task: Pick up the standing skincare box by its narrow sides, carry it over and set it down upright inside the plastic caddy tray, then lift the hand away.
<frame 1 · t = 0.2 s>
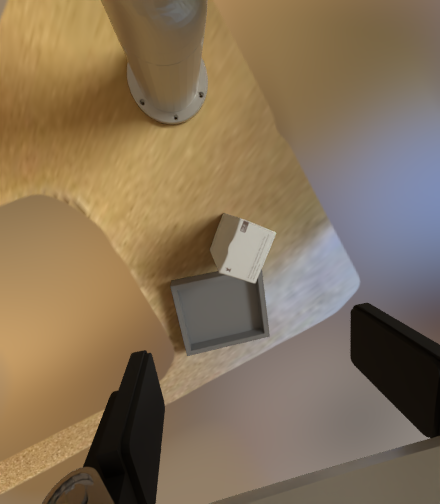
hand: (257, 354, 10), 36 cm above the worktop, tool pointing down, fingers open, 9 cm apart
skincare box: (228, 234, 46), on the worktop
caddy tray: (221, 306, 49), on the worktop
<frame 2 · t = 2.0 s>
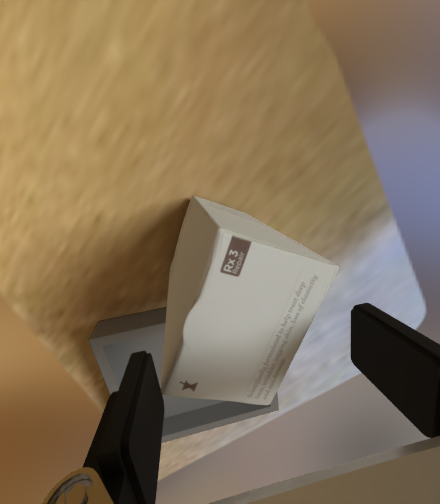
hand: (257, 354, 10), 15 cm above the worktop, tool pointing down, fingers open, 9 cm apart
skincare box: (205, 237, 24), on the worktop, touching gripper
caddy tray: (195, 359, 28), on the worktop
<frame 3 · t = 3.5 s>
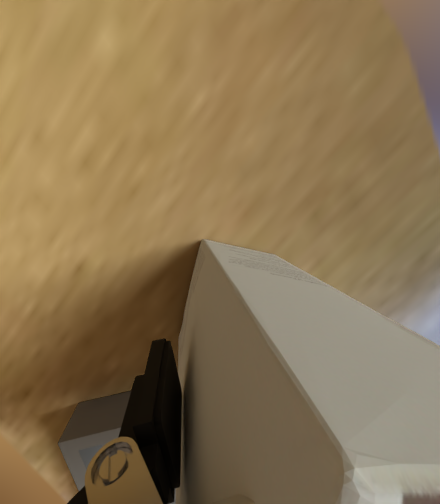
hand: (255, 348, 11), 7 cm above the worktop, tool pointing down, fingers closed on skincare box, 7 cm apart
skincare box: (223, 291, 17), on the worktop, touching gripper
caddy tray: (208, 448, 21), on the worktop
when the fingers open (9 cm above the worktop, at t = 10.7 s): skincare box drops 1 cm, resting on caddy tray.
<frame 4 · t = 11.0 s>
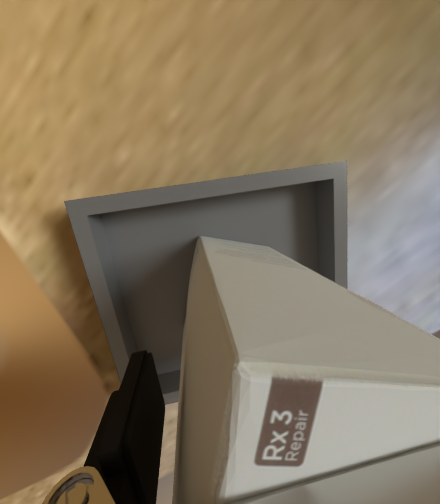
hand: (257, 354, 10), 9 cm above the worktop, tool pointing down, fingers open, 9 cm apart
skincare box: (223, 284, 19), point 1 cm above the worktop, touching caddy tray
caddy tray: (224, 280, 19), on the worktop
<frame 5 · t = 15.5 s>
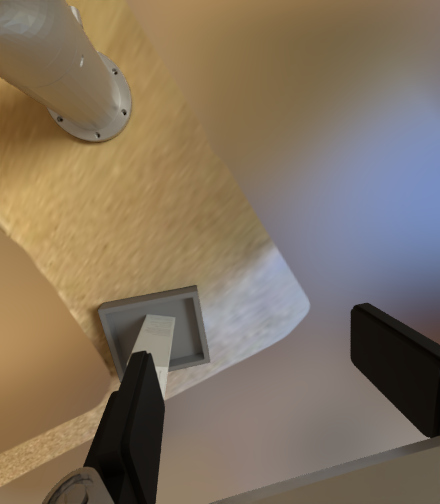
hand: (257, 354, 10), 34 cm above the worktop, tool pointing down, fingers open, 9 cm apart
skincare box: (158, 331, 46), point 1 cm above the worktop, touching caddy tray
caddy tray: (159, 329, 47), on the worktop
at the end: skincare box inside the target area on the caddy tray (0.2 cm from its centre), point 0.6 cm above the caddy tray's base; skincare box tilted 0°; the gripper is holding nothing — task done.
